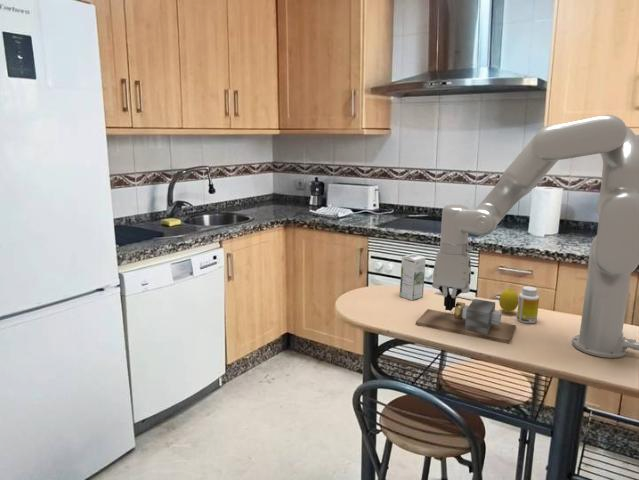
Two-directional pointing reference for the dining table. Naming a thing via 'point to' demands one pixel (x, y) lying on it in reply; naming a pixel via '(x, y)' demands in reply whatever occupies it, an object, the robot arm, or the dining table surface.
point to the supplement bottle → (528, 305)
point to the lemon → (508, 300)
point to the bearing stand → (470, 322)
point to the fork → (458, 295)
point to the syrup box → (412, 276)
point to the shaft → (462, 308)
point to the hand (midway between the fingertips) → (449, 309)
